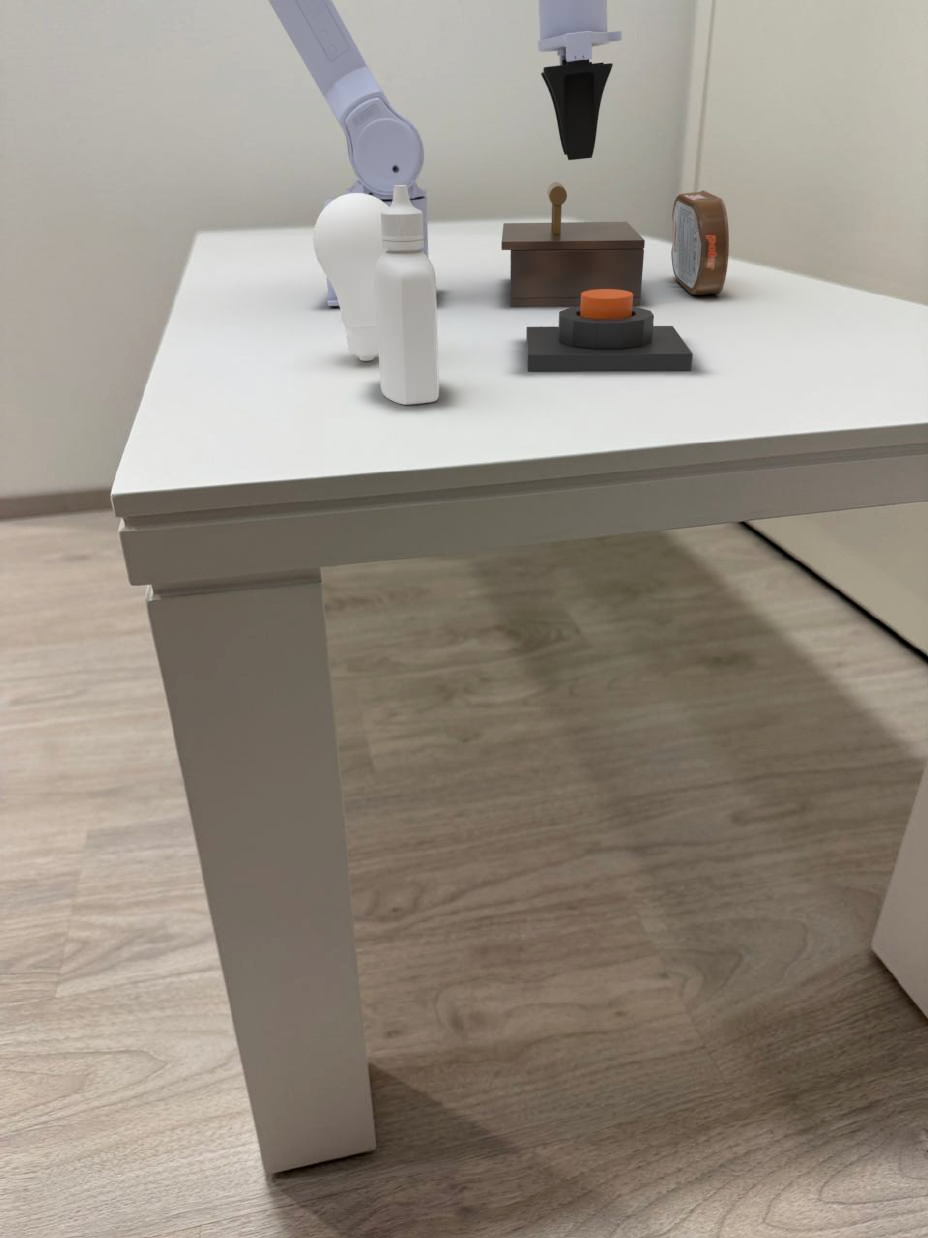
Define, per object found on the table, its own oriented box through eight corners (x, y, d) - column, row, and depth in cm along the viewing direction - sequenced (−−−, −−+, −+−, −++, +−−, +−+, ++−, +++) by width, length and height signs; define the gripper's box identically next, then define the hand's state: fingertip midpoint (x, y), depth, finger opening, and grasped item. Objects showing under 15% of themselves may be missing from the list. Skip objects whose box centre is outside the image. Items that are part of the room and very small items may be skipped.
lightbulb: (342, 375, 63) (327, 198, 58) (312, 357, 68) (296, 192, 62) (423, 363, 65) (416, 193, 60) (389, 347, 70) (380, 187, 65)
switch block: (527, 372, 63) (528, 326, 61) (526, 342, 71) (526, 301, 69) (691, 371, 62) (695, 325, 61) (671, 341, 70) (675, 300, 69)
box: (510, 307, 83) (510, 250, 81) (510, 280, 96) (511, 230, 94) (640, 306, 83) (644, 249, 80) (623, 279, 95) (626, 229, 93)
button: (581, 324, 64) (582, 298, 63) (578, 314, 67) (579, 288, 66) (634, 324, 64) (635, 297, 63) (628, 313, 67) (630, 288, 66)
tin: (726, 301, 84) (738, 200, 80) (691, 302, 84) (701, 200, 80) (693, 275, 97) (702, 186, 93) (663, 275, 97) (671, 187, 93)
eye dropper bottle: (452, 384, 61) (448, 181, 55) (433, 408, 56) (426, 189, 50) (388, 381, 61) (377, 181, 56) (363, 405, 56) (349, 189, 51)
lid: (501, 250, 81) (501, 190, 79) (503, 230, 94) (503, 179, 91) (644, 248, 80) (648, 188, 78) (626, 228, 93) (630, 177, 91)
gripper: (629, -43, 70) (630, 156, 77) (612, -23, 83) (614, 146, 90) (536, -32, 71) (545, 165, 78) (533, -14, 84) (541, 154, 90)
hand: (577, 156), depth 84 cm, fingers open, 7 cm apart
